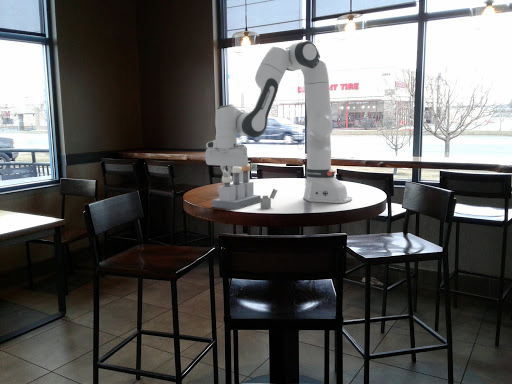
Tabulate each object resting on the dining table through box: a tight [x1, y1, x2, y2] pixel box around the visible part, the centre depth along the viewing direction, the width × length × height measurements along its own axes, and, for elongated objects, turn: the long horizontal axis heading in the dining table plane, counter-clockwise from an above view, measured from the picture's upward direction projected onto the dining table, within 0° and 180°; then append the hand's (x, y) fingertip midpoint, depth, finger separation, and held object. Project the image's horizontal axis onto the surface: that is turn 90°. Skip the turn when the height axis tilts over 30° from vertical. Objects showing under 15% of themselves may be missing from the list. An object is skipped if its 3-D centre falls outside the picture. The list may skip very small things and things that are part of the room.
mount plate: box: [211, 181, 262, 211], centre depth 196 cm, size 12×20×9 cm, turn 147°
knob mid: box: [231, 167, 242, 185], centre depth 195 cm, size 4×4×9 cm
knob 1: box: [221, 175, 233, 187], centre depth 190 cm, size 4×4×9 cm
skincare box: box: [232, 162, 251, 184], centre depth 233 cm, size 8×6×15 cm
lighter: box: [260, 188, 278, 209], centre depth 188 cm, size 7×2×8 cm, turn 105°
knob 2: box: [242, 164, 251, 183], centre depth 201 cm, size 4×4×9 cm
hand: (226, 176), depth 189 cm, fingers closed, pressing on knob 1
